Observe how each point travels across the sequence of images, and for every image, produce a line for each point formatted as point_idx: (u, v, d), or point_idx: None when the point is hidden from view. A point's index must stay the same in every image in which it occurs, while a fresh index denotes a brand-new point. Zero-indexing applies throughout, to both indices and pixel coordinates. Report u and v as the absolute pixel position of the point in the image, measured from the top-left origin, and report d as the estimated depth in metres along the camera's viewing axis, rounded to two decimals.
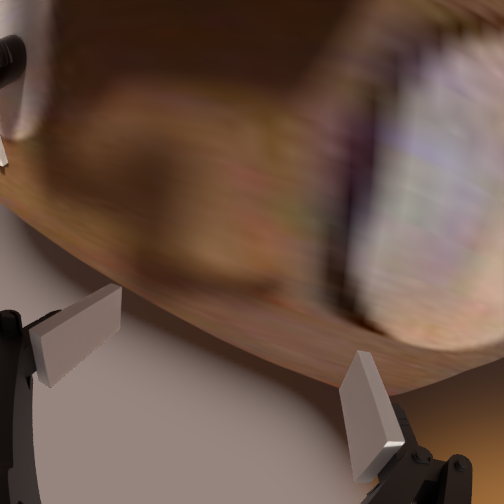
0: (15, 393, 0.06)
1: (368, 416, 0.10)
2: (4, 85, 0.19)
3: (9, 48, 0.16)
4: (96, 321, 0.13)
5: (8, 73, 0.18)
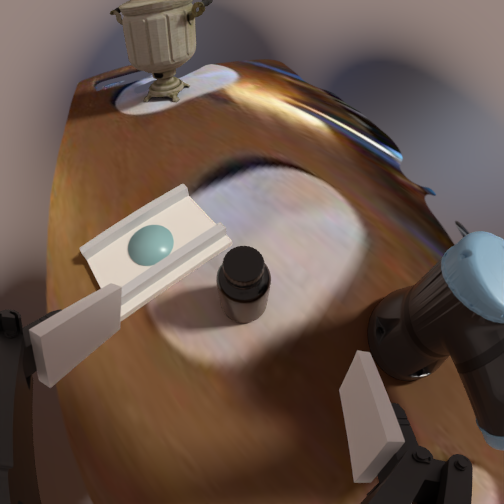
0: (15, 393, 0.06)
1: (368, 416, 0.10)
2: (233, 315, 0.39)
3: (265, 305, 0.41)
4: (96, 321, 0.13)
5: (248, 317, 0.39)
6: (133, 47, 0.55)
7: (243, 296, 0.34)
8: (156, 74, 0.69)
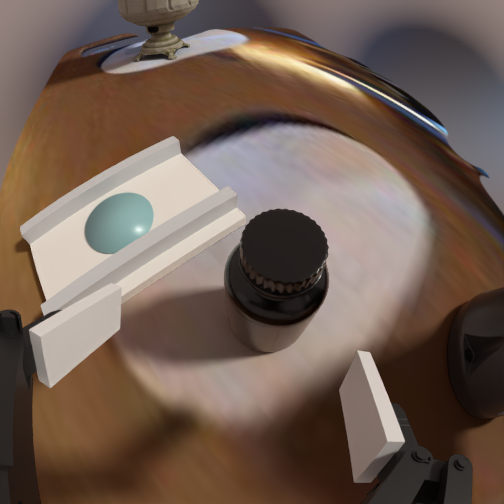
0: (15, 393, 0.06)
1: (368, 416, 0.10)
2: (253, 342, 0.21)
3: None
4: (96, 321, 0.13)
5: (279, 345, 0.21)
6: None
7: (280, 313, 0.16)
8: (150, 29, 0.50)
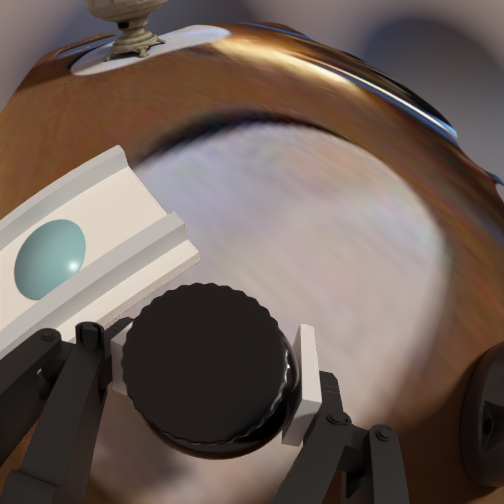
0: (83, 409, 0.06)
1: None
2: None
3: None
4: None
5: None
6: None
7: (210, 450, 0.08)
8: (121, 25, 0.43)
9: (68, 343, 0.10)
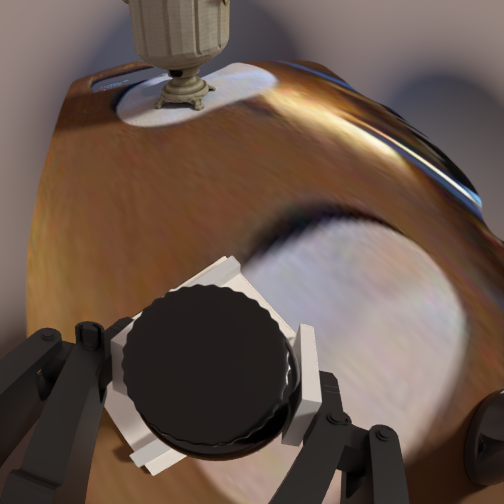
0: (83, 409, 0.06)
1: None
2: None
3: None
4: None
5: None
6: (143, 32, 0.38)
7: (211, 451, 0.08)
8: (173, 71, 0.51)
9: (68, 343, 0.10)
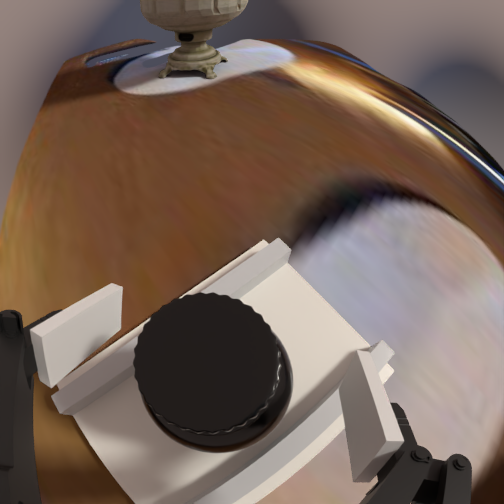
0: (16, 393, 0.06)
1: (367, 416, 0.10)
2: None
3: None
4: (97, 321, 0.13)
5: None
6: None
7: (211, 443, 0.09)
8: (182, 36, 0.41)
9: None
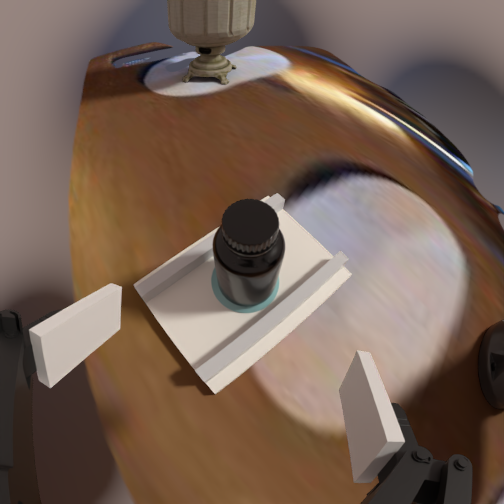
0: (15, 393, 0.06)
1: (368, 416, 0.10)
2: (235, 296, 0.30)
3: None
4: (96, 321, 0.13)
5: (254, 298, 0.30)
6: (181, 12, 0.41)
7: (250, 267, 0.25)
8: (201, 49, 0.55)
9: None
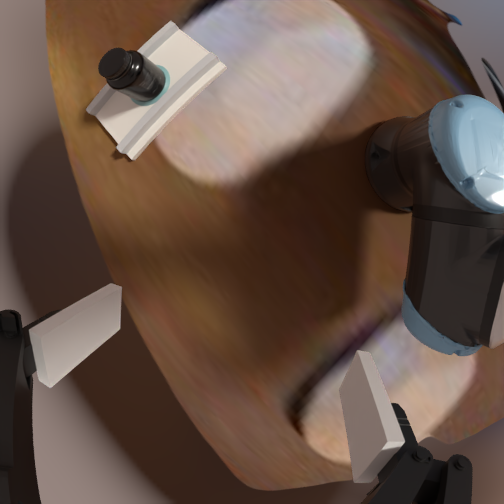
0: (15, 393, 0.06)
1: (368, 416, 0.10)
2: (133, 98, 0.39)
3: (159, 83, 0.39)
4: (96, 321, 0.13)
5: (144, 96, 0.39)
6: None
7: (120, 84, 0.33)
8: None
9: None
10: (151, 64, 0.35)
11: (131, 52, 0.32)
